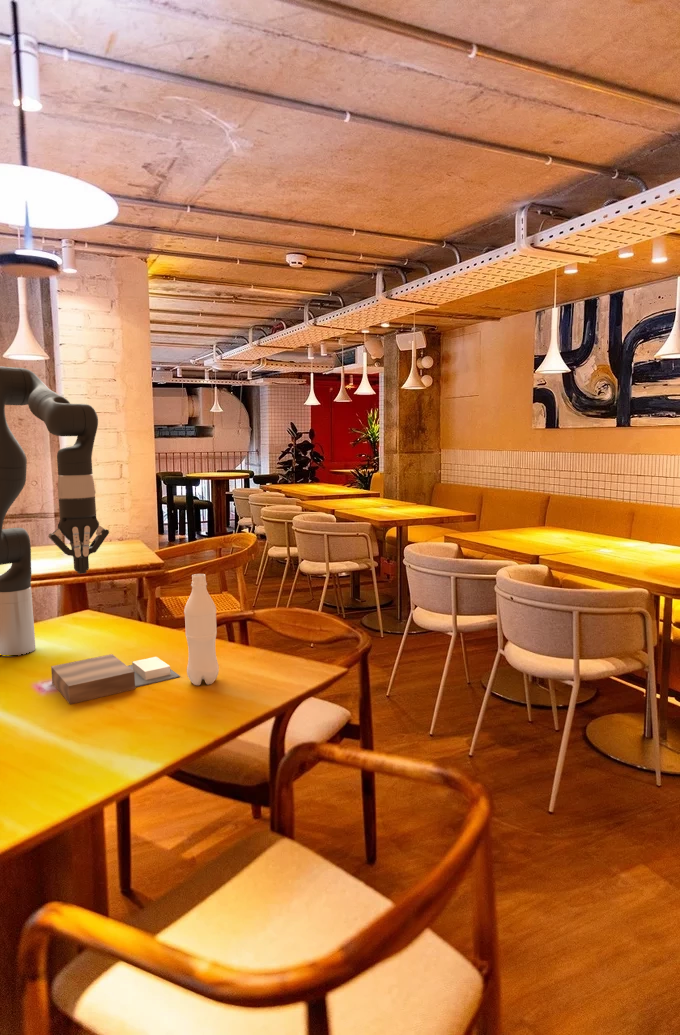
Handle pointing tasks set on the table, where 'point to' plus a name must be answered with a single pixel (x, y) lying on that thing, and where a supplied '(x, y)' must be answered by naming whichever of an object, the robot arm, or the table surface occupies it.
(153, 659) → the white flat block
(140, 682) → the mat
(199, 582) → the water bottle
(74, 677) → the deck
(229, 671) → the table surface
